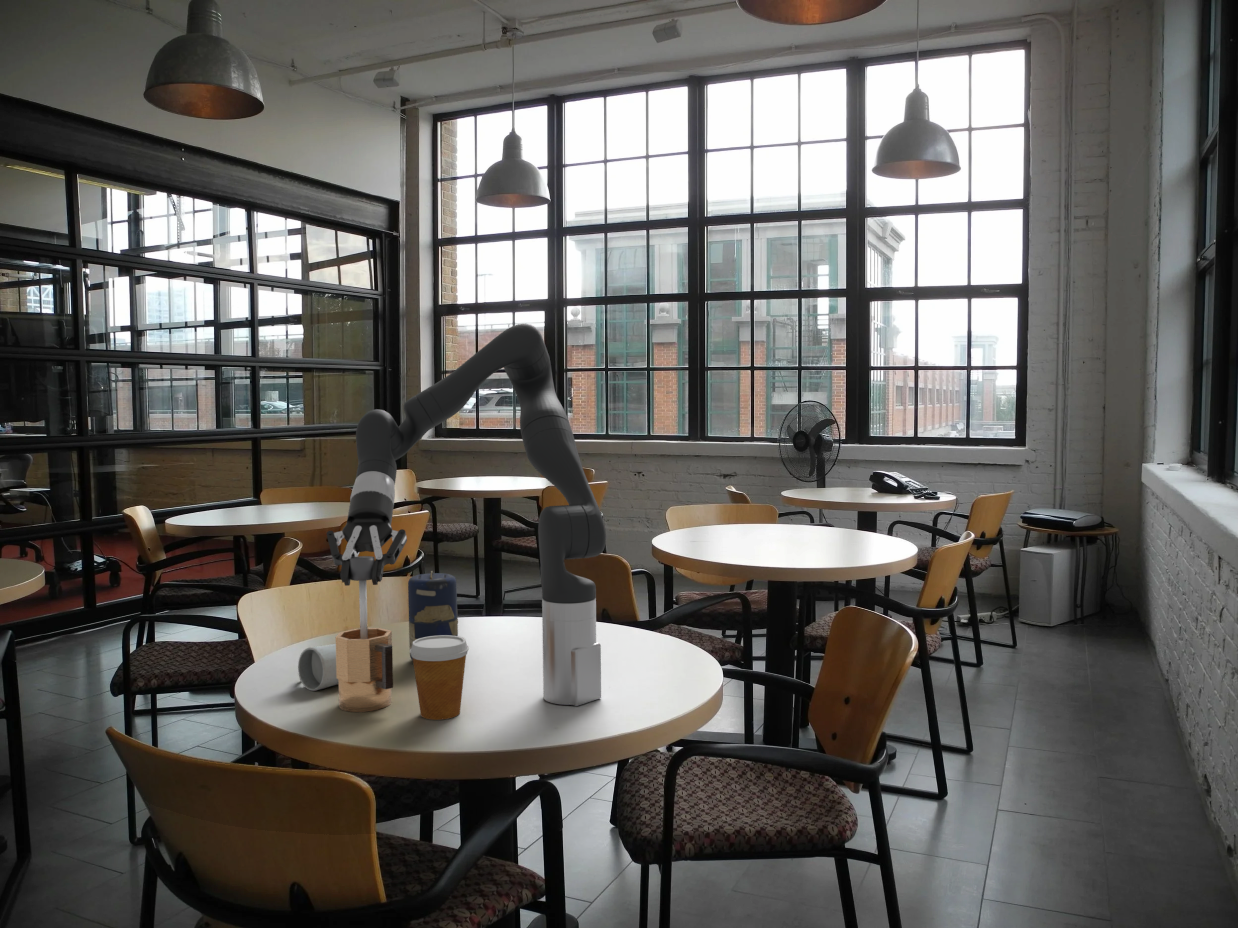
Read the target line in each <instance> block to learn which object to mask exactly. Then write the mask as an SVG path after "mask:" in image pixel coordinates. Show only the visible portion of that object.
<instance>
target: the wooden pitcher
mask: <svg viewBox="0 0 1238 928" xmlns="http://www.w3.org/2000/svg"><path fill="white" fill-rule="evenodd" d="M367 629H368V639H360V627H358V628H355V629H354V628H353V629H349V630H345V631H340V632H338V634H337V635H336V636H335V644H336V676H337V679H338V707H339V709H340V710H342V711H346V712H350V713H353V712H354V713H365V712H367V713H368V712H373V711H378V710H381V709H384V708H385V709H386V708H387V707H389V706H390V705H391V704H392V689H393V688H394V668H393V667H394V664H393V663H394V662H393V661H394V660H393V642H392V640H393V639H392V638H393V636H392V635H393V633H392V632H393V631H392V630H389V629H386V628H385V629H384V628H383V627H382V628H381V627H367Z"/></svg>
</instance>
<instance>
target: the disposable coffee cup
mask: <svg viewBox="0 0 1238 928" xmlns="http://www.w3.org/2000/svg"><path fill="white" fill-rule="evenodd" d="M467 644H468V643H467V639H466V638H465V637H462V636H459V635H458V636H451V635H440V636H429V637H423V638H419V639H417V640H415V641H413V644H412V648H411V649H410V648H409V655H410V654H411V656H412V658H413V660H412V663H413V664H412V665H413V669H414V677H415V678H414V679H415V683H416V685H415V686H416V690H417V691H416V692H417V697H418V705H419V712H420V716H421V717H422V718H423V719H426V720H433V721H437V720H438V721H440V720H443V721H444V720H449V719H452V718H455V717H457V716H459V715H460V713H461V708H462V707H461V705H462V695H463V688H464V679H465V668H466V660H467V655H468V652H469V649H470V646H469V645H467Z"/></svg>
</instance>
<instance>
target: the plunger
mask: <svg viewBox="0 0 1238 928" xmlns="http://www.w3.org/2000/svg"><path fill="white" fill-rule="evenodd" d="M374 560H376V558H375V556H372V555H371V556H369V555H362V556H361V555H360V556H359V555H358V557H352V558H350V581H353V582H355V581H358V589H359V590H358V593H359V594H358V595H359V600H358V601H359V628H360V639H368V629H367V628H368V598H367V597H368V596H367V595H368V594H367V593H368V591H367V581H372V570H373V563H374Z"/></svg>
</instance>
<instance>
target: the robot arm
mask: <svg viewBox="0 0 1238 928" xmlns="http://www.w3.org/2000/svg"><path fill="white" fill-rule="evenodd" d="M551 364H552V363H551V360H550V355H549V353H548V349H547V347H546V344H545V341H544V338H543V336H542V332H540V330H539V329H538V328H537V327H536V326H535V325H532V324H528V323H518V324H515V325H512V326H510V327H508V328H506V329H505V330H504V331H501V333H499V334H498V335H497V336H496V337H494V338H493V339H492V340H490V342H488V343H487V344H485V346H483V347H482V348H481V349H479V350H478V351H477V352H476V353H474V354H473V355H472V356H471V357H470V358H469V359H467V360H466V361H465V362H464V363H462V364H461V365H460V366H458V367H457V368H456V369H455V370H454V371H452V372H451V373H449V374H448V375H447V376H445V377H444V378H442V379H441V380H439V381H438V382H436V383H434V384H432V385H431V386H429V387H427V388H426V389H424V390H422V391H420V392H418V393H417V394H415V395H414V396H412V397H410V398H409V399H407V400H405V402H404V404H403V411H404V413H405V418H404V420H403V421H402V422H401V424H399V426H398V424H397V422H396V421H395V419H394V417H393V416H392V415H391V413H389V412H388V411H385V410H384V409H377V408H376V409H371V410H369V411H367V412H366V413H364V415H363V416H362V417H361V418H360V419H359V421H358V423H357V427H356V432H355V443H356V455H357V460H358V461H357V462H358V465H357V469H356V476H355V481H354V484H353V486H352V489H351V490H352V491H351V494H350V498H349V500H350V501H349V506H348V507H349V508H348V511H347V512H348V514H347V518H346V524H345V526H344V527H342V530H340V531H336V532H335V531H333V530H328V531H327V532H326V539H327V541H328V545H329V546H328V547H329V550H330V554H331V557H332V560H333V564H334V565H335V566H336V567H339V566H341V568H340V574H339V576H340V580H341V582H342V583H344V586H347V587H348V586H350V585H351V580H350V558H352V557H359V554H360V553H363V552H364V553H365V552H370V553H374V557H375V560H374V563H373V570H372V580H371V583H372V585H373V586H378V583H379V582H380V583H381V581H382V580H383V574H384V567H385V566H386V565H394V564H396V562H397V560H398V559H399V556H400V555H401V553H402V551H403V549H404V547H405V546H406V544H407V541H408V539H407V537H408V536H407V533H406V530H405V529H402V528H401V529H399V530H396V529H395V530H394V529H393V527H392V521H393V513H394V506H395V497H396V489H395V487H396V486H395V485H396V480H397V479H396V478H397V472H398V471H397V470H398V469H397V462H396V461H397V460H399V459H400V458H402V457H403V456H405V455H406V454H407V452H409V451H410V450H411V449H412V448H413V447H414V445H416V443H418V441H420V440H421V439H422V438H423V437H424V436H425V435H426V433H427V432H429V431H430V430H431V429H433V428H435V427H437V426H439V425H440V424H442V423H444V422H445V421H447V420H449V419H450V418H452V417H453V416H454V415H456V414H458V412H459V411H461V410H462V409H463V408H464V407H465V406H466V405H467V403H469V401H470V399H471V398H472V397H473V396H474V394H475V393H476V392H477V390H478V389H479V388H480V387H481V386H482V384H483V383H484V382H485V381H487V379H489V377H491V376H492V375H493V374H495V373H496V372H497V371H500V370H502V369H504V371H505V373H506V375H507V377H508V379H509V381H510V382H511V383H510V384H511V385H512V387H513V389H514V392H515V395H516V398H517V399H518V402H519V407H520V415H519V416H520V417H519V429H520V434H521V439H522V443H523V447H524V449H525V451H524V452H525V454H526V457H527V459H528V461H529V464H531V465H532V467H533V468H534V469H535V470H536V471H537V472H538V473H539V474H540V475H541V476H542V477H543V478H544V479H545V480H547V481H548V482H549V483H551V485H552V486H553V487H555V488H556V489H557V490H558V491H559V492H560V493H561V495H563V497H564V499H565V500H566V502H567V503H568V504H564V505H563V504H562V505H561V504H560V505H549V506H546V507H544V508H543V509H542V510H541V512H540V514H539V518H538V525H537V526H538V531H537V532H538V533H537V534H538V547H539V560H540V561H539V562H540V583H541V596H542V597H541V598H542V599H541V601H542V602H541V607H542V609H541V610H542V611H541V612H542V619H541V620H542V624H541V625H542V690H543V691H542V695H543V700H544V701H546V702H548V703H550V704H556V705H565V706H566V705H568V706H569V705H571V706H576V707H577V706H578V707H579V706H581V705H583V704H584V705H585V704H587V703H590V702H593V701H595V700H599V699H602V663H601V662H602V656H601V655H602V650H601V649H602V646H601V643H600V642H597V601H596V600H597V588H596V587H597V586H596V583H595V581H593V580H592V579H589V578H586V577H584V576H579V575H576V574H574V573H572V572H570V571H568V569H566V565H565V560H575V559H589V558H595V557H598V556H600V555H601V554H602V553H603V551H604V550H605V547H606V542H607V541H606V540H607V533H606V527H605V521H604V517H603V515H602V512H601V510H600V507H599V504H598V502H597V500H596V498H595V496H594V495H595V494H594V493H593V490H592V488H591V485H590V483H589V481H588V479H587V476H586V474H585V471H584V468H583V465H582V462H581V459H580V456H579V452H578V448H577V444H576V440H575V436H574V433H573V430H572V426H571V423H570V421H569V420H570V419H569V418H568V416H567V413H566V411H565V409H564V407H563V406H562V404H561V401H560V400H559V398H558V395H557V394H556V390H555V384H554V380H553V378H554V377H553V372H552V365H551ZM343 539H344V540H345V541H346V542H347V544H346V547H345V550H344V552H343V554H341V553H340V551H339V547H340V545H341V543H342V540H343ZM390 540H392V542H391V543H390V546H389V548H388V550H387V552H385V553H384V554H383V550H382V547H383V546H384V545H385V544H386V543H387V542H388V541H390ZM338 546H339V547H338Z"/></svg>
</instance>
